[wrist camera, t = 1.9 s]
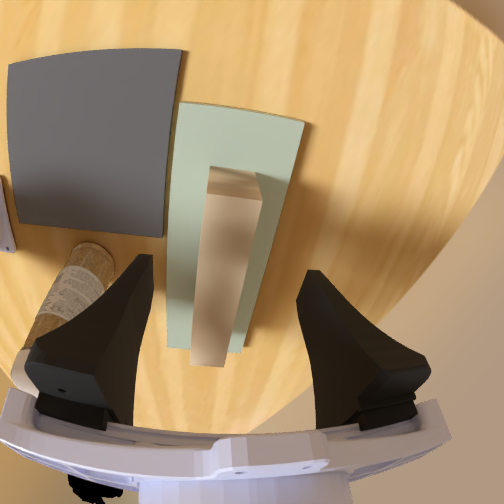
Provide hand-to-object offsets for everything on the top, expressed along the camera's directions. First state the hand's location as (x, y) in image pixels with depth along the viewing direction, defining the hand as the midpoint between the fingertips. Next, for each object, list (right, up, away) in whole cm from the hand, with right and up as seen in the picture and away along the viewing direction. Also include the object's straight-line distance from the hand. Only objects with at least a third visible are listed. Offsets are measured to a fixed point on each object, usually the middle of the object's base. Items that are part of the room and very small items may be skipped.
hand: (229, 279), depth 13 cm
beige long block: (-2, 0, +10) cm, 10 cm away
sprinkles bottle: (-13, +1, +10) cm, 16 cm away
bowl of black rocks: (-50, -66, +54) cm, 99 cm away
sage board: (-2, +1, +11) cm, 11 cm away
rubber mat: (-11, +9, +4) cm, 15 cm away
